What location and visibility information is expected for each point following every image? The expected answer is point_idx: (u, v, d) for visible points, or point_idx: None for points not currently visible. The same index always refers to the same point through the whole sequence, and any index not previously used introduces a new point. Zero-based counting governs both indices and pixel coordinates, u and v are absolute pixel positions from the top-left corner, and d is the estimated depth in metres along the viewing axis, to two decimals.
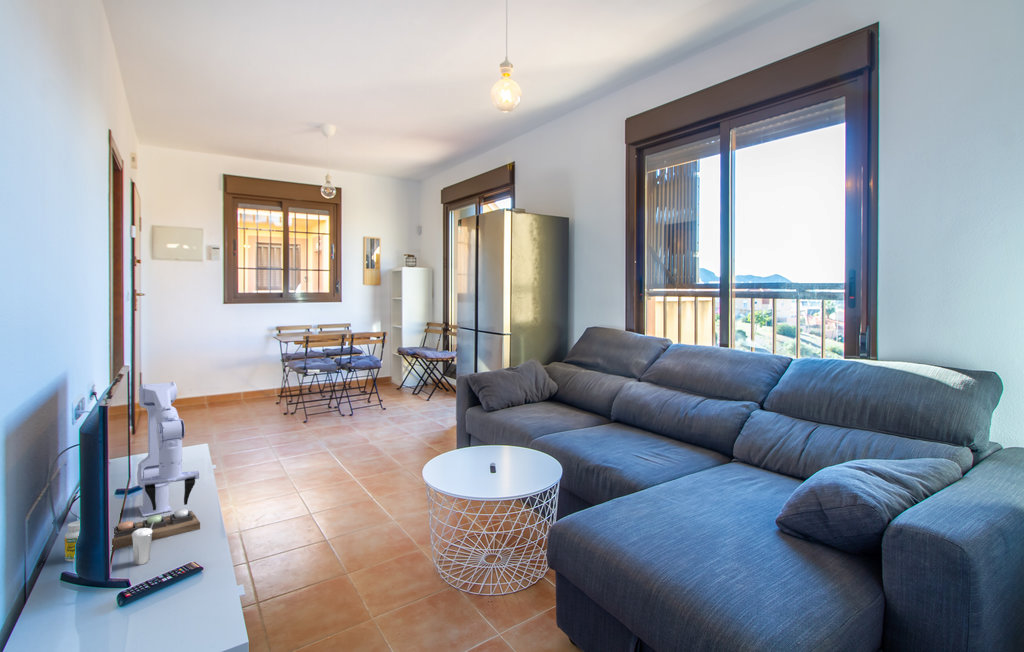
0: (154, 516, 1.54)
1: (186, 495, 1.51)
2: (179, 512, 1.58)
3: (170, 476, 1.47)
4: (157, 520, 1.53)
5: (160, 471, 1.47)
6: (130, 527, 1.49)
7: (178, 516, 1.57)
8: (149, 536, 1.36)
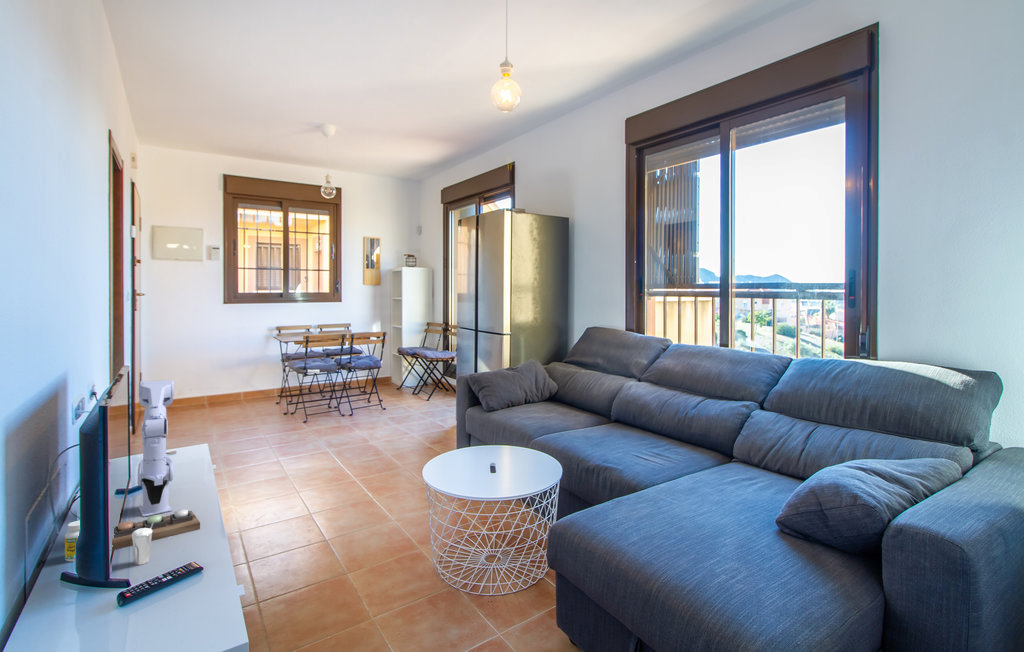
0: (154, 516, 1.54)
1: (149, 495, 1.51)
2: (179, 512, 1.58)
3: (143, 472, 1.51)
4: (157, 520, 1.53)
5: None
6: (130, 527, 1.49)
7: (178, 516, 1.57)
8: (149, 536, 1.36)
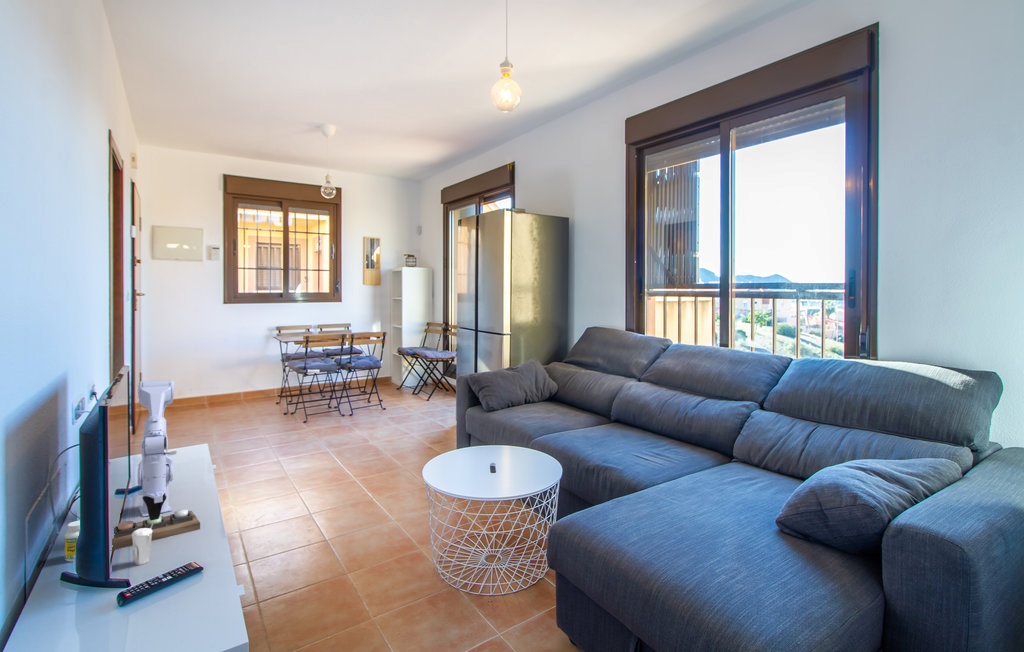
0: None
1: (148, 511, 1.52)
2: (179, 512, 1.58)
3: (143, 489, 1.52)
4: (157, 522, 1.53)
5: None
6: (130, 527, 1.49)
7: (178, 516, 1.57)
8: (149, 536, 1.36)
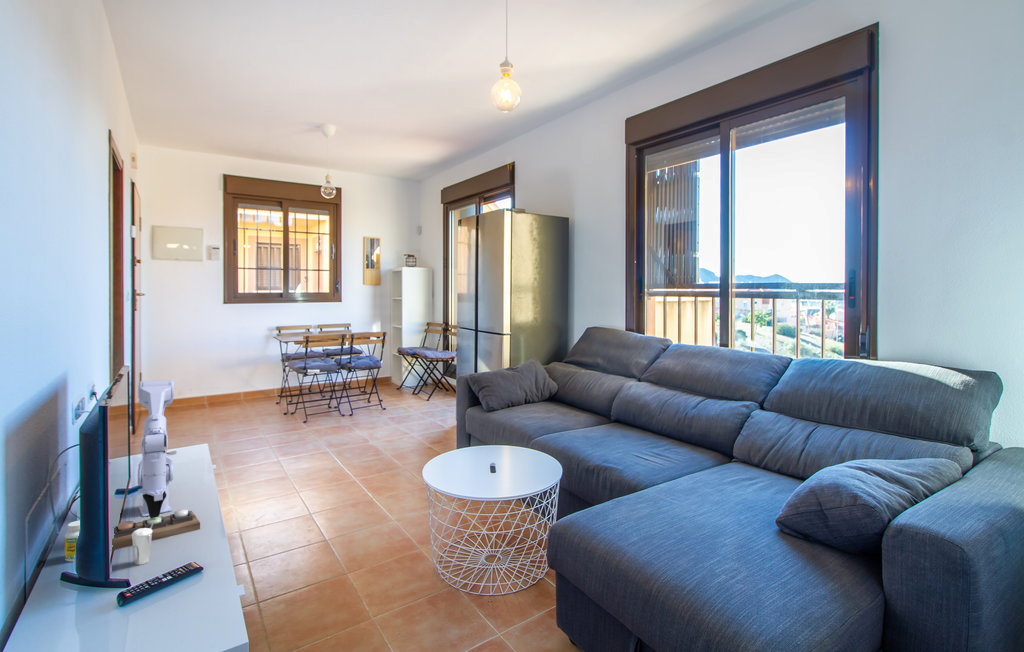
0: (154, 518, 1.54)
1: (148, 509, 1.52)
2: (179, 512, 1.58)
3: (143, 487, 1.52)
4: (157, 522, 1.53)
5: None
6: (130, 527, 1.49)
7: (178, 516, 1.57)
8: (149, 536, 1.36)
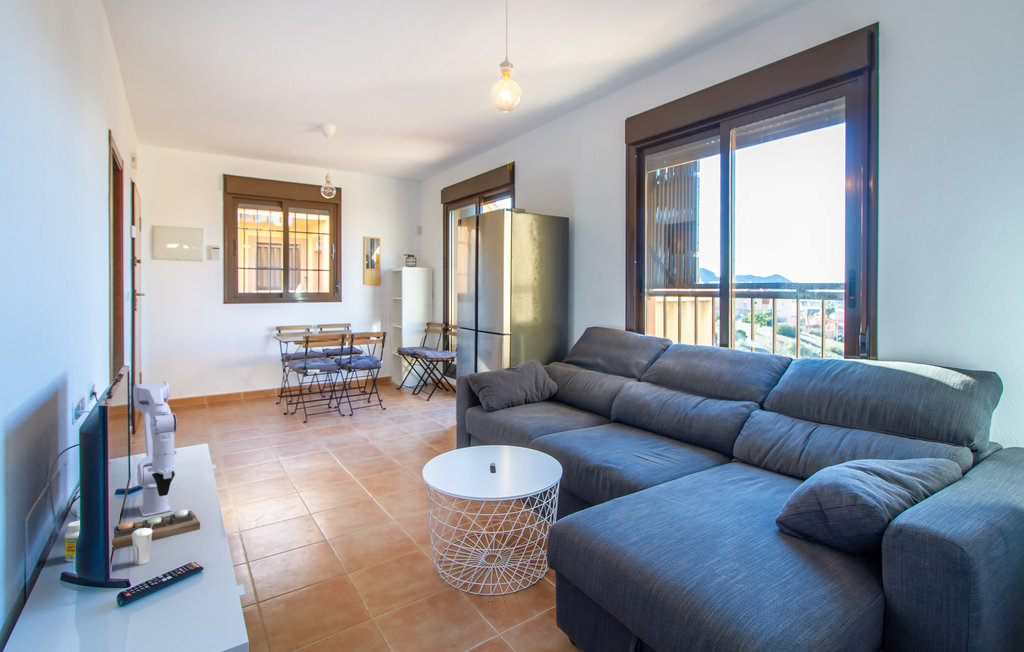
0: (154, 518, 1.54)
1: (157, 487, 1.58)
2: (179, 512, 1.58)
3: (152, 466, 1.57)
4: (157, 522, 1.53)
5: None
6: (130, 527, 1.49)
7: (178, 516, 1.57)
8: (149, 536, 1.36)
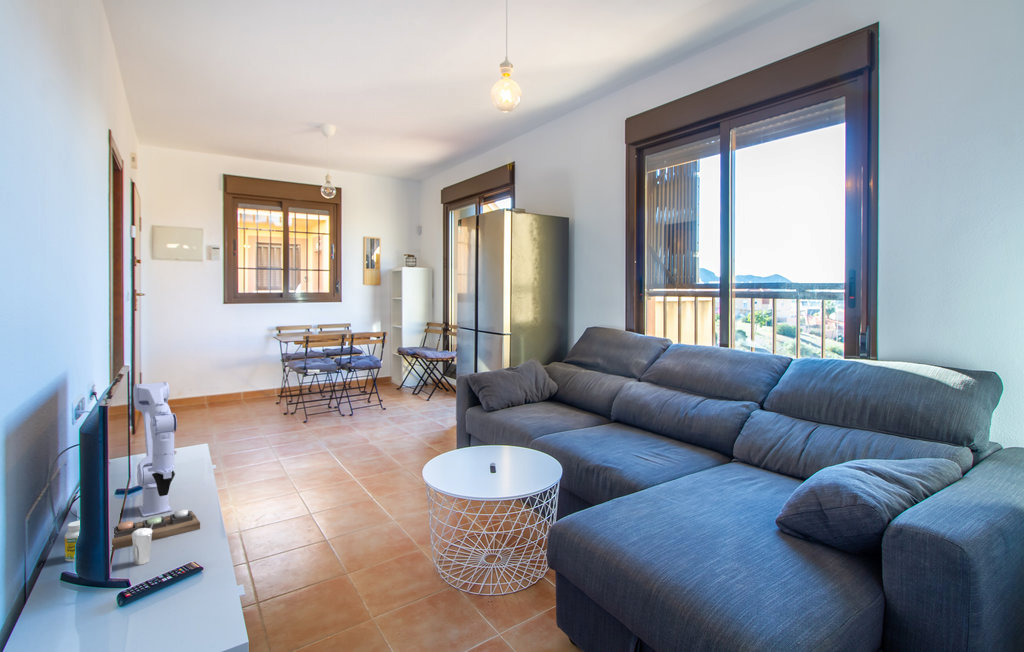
0: (154, 518, 1.54)
1: (157, 487, 1.58)
2: (179, 512, 1.58)
3: (152, 466, 1.57)
4: (157, 522, 1.53)
5: None
6: (130, 527, 1.49)
7: (178, 516, 1.57)
8: (149, 536, 1.36)
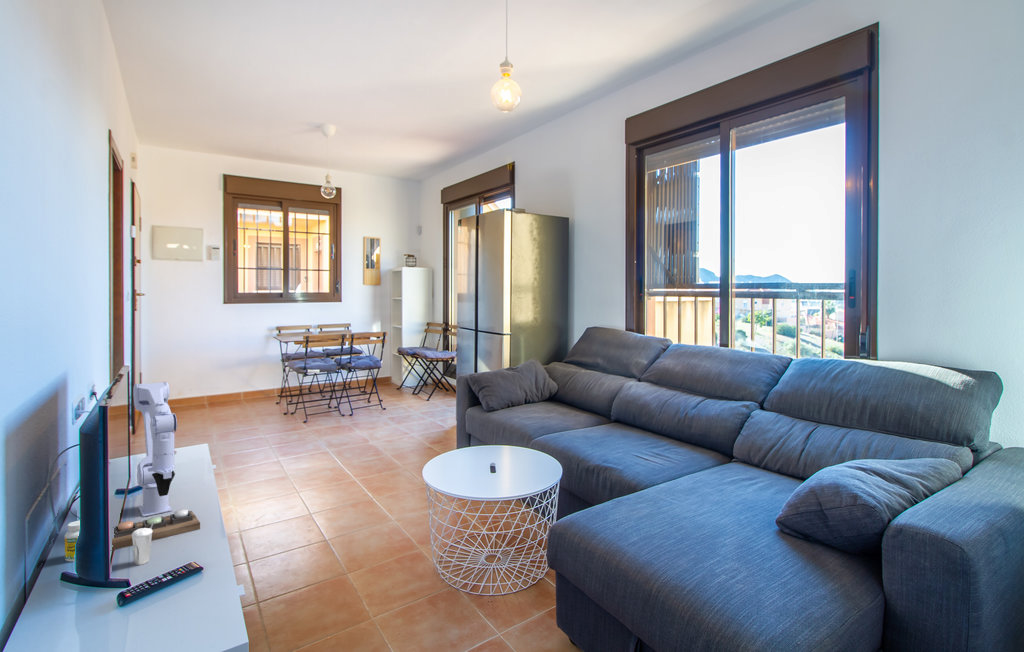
0: (154, 518, 1.54)
1: (157, 487, 1.58)
2: (179, 512, 1.58)
3: (152, 466, 1.57)
4: (157, 522, 1.53)
5: None
6: (130, 527, 1.49)
7: (178, 516, 1.57)
8: (149, 536, 1.36)
